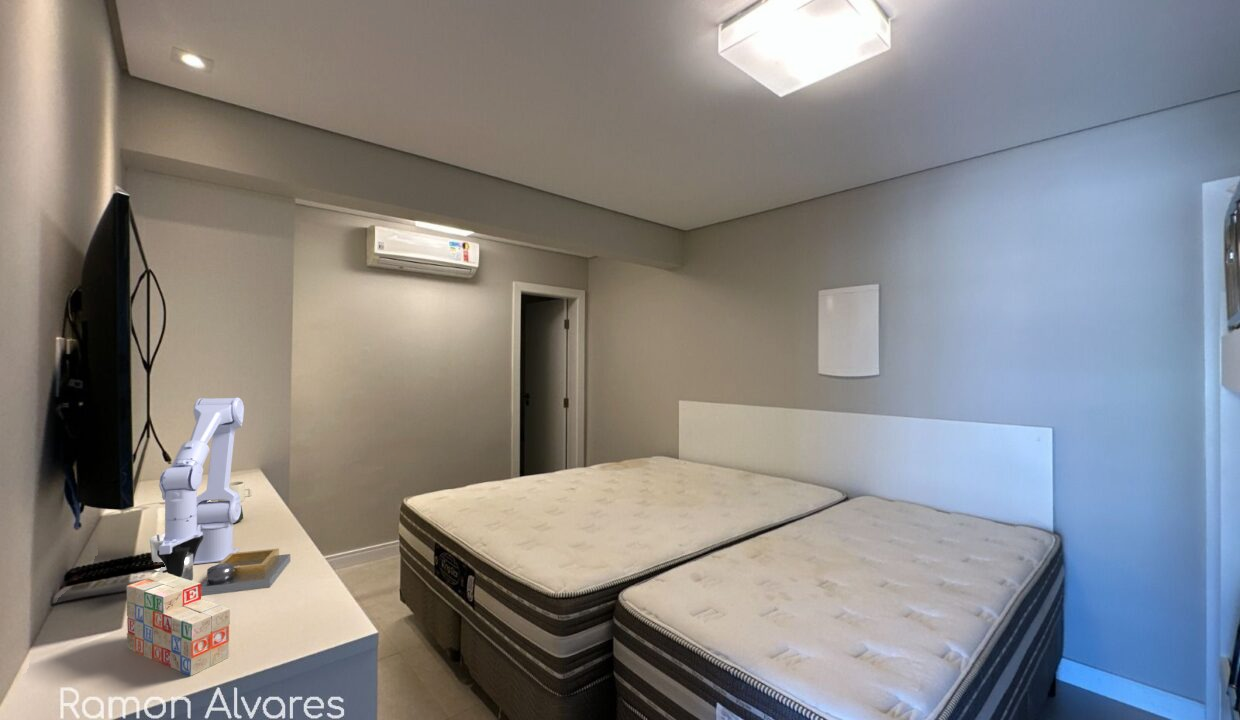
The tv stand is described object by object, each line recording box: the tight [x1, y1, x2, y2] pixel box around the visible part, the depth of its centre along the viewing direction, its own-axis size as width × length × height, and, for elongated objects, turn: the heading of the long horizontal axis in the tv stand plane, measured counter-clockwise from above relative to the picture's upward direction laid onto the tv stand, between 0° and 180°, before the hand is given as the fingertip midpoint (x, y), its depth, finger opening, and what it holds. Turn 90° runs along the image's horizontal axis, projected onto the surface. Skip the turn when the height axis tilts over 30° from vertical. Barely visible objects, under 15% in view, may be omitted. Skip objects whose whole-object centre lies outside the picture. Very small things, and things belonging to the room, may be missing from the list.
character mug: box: [210, 481, 253, 523], centre depth 165 cm, size 11×7×13 cm, turn 125°
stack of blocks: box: [126, 572, 231, 677], centre depth 93 cm, size 21×6×12 cm, turn 67°
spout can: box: [181, 551, 194, 581], centre depth 119 cm, size 4×4×7 cm
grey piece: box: [201, 547, 291, 597], centre depth 125 cm, size 14×16×5 cm
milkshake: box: [149, 532, 167, 572], centre depth 129 cm, size 4×5×10 cm
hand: (181, 572), depth 119 cm, fingers closed on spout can, 4 cm apart
